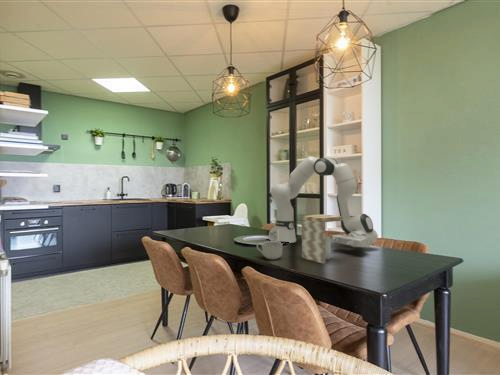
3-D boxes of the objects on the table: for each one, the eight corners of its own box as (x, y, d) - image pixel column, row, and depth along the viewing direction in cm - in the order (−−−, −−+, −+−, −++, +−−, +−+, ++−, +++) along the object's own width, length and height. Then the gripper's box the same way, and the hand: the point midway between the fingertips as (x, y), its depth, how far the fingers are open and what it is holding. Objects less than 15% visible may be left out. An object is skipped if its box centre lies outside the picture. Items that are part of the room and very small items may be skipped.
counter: (301, 257, 160) (301, 215, 160) (320, 254, 168) (320, 214, 168) (323, 263, 148) (323, 218, 148) (342, 259, 156) (342, 216, 155)
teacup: (286, 257, 162) (286, 242, 162) (277, 261, 152) (277, 245, 152) (262, 254, 169) (262, 239, 169) (253, 258, 159) (253, 243, 159)
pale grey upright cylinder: (316, 257, 160) (316, 236, 160) (324, 256, 163) (324, 235, 163) (325, 260, 155) (324, 238, 155) (333, 258, 158) (333, 237, 158)
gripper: (341, 231, 181) (324, 233, 174) (371, 236, 164) (354, 238, 157) (341, 242, 181) (324, 244, 174) (371, 247, 164) (354, 251, 157)
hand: (339, 242), depth 165 cm, fingers open, 8 cm apart
